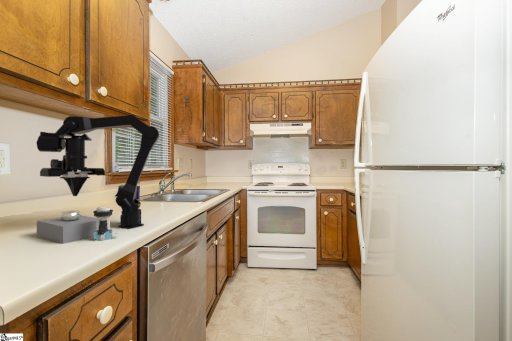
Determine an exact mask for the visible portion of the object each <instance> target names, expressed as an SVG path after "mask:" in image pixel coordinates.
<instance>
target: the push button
mask: <svg viewBox="0 0 512 341" xmlns="http://www.w3.org/2000/svg"><path fill="white" fill-rule="evenodd" d="M92 212H93V216H94V218H97V229H96V231H95V232H94V236H93V240H94V241H95V242H96V241H107V240H111V239H112V238H115V237H116V238H117V237H118V232H113V229H112V227H111V223H110V221H111V216H112V215H113V212H114V210H113V209H111V207H110V206H98V207H96V209H95V210H93V211H92ZM99 219H100V225H99ZM116 234H117V235H116Z"/></svg>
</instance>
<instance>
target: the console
mask: <svg viewBox="0 0 512 341" xmlns="http://www.w3.org/2000/svg"><path fill="white" fill-rule="evenodd" d="M99 225H100V218H99ZM96 229H97V217H91V216H87V215H83V214H81V215H80V219H77V220H73V221H63V220H62V216H58V217H53V218H47V219H39V220H36V236H37V237H39V238H43V239H45V240H46V239H47V240H49V241H53V242H56V243H60V244H66V243H71V242H76V241H79V240H80V241H81V240H84V239H85V240H86V239H89V238H94V232H95V231H96Z"/></svg>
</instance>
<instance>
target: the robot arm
mask: <svg viewBox="0 0 512 341" xmlns="http://www.w3.org/2000/svg"><path fill="white" fill-rule="evenodd" d="M123 127H125V128H126V127H132V128H133V129H134V130H136V131H137V132H138V133H140V134H141V139H140V146H139V149H138V153H137V154H136V158H135V160H134V163H133V165H132V167H131V170H130V172H129V175H128V178H127V180H126V182H125V184H120V185H119V186H118V188H117V193H116V194H115V195H114V197H115V202H116V204H117V206H119V207H120V208H121V214H120V216H119V218H120V219H119V220H120V223H119V225H118V227H119V228H120V227H121V228H126V229H132V228H138V227H142V226H144V225H145V223H142V209H141V205H142V203H141V202H140V200H139V199H137V198H136V196H137V190H138V184H139V181H140V178H141V176H142V173H143V171H144V168H145V166H146V164H147V161H148V159H149V157H150V156H149V155H150V153H151V152H152V150H153V148H154V147H155V145H156V144H157V143H158V141H159V139H160V132H159V130H158V128H156V127H155V126H151V125H148V124H147V123H145V122H144V121H142V120H141V119H139V118H137V117H136V115H134V114H127V115H116V116H115V115H114V116H106V117H105V116H104V117H84V116H75V115H73V116H72V115H71V116H67V117H65V119H63V122H62V125H61V126H60V127H59V128H58V129H57V130H56V131H55V132H47V131H40V132H39V133H40V134H39V136H38V137H37V140H36V147H37V150H38V151H39V152H42V153H43V152H44V153H45V152H46V153H61V152H62V151H64V154H63V156H62V160H59V159H57V158H56V159H54V158H53V159H51V160H50V163H49V164H50V167H42V168H41V169H40V171H39V177H45V178H46V177H49V178H50V177H54V178H55V177H57V178H58V177H59V179H63V180H64V181H65V182H66V184H67V185H68V188H69V190H70V192H71V195H72V196H73V197H78V195H79V193H80V192H81V189H82V187H83V186H84V184H85V183H86V181H87V180H88V179H91V178H90V176H98V177H99V176H106V170H105V169H104V168H103V167H102V168H101V167H87V166H86V165H85V164H86V159H88V156H87V155H86V141H87V142H88V141H89V142H90V141H92V139H93V138H91V137H90V136H88V134H87V133H91V132H93V131H96V130H102V129H103V130H104V129H115V128H123Z"/></svg>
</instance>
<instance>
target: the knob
mask: <svg viewBox="0 0 512 341" xmlns="http://www.w3.org/2000/svg"><path fill="white" fill-rule="evenodd" d="M80 213H81V212H80V210H68V211H67V210H65V211H61V217H62V220H63V221H73V220H77V219H80Z"/></svg>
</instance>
